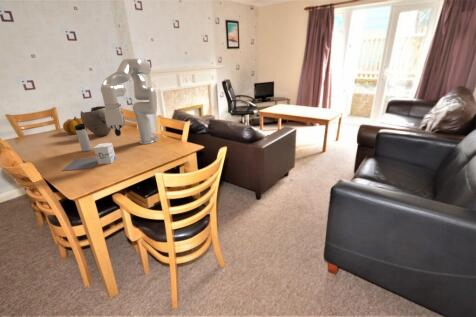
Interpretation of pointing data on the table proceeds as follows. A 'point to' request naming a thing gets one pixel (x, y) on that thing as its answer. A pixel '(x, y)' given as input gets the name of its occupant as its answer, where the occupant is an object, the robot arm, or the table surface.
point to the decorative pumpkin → (72, 125)
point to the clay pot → (96, 121)
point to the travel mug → (83, 138)
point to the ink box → (104, 153)
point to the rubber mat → (81, 164)
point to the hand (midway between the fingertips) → (118, 135)
